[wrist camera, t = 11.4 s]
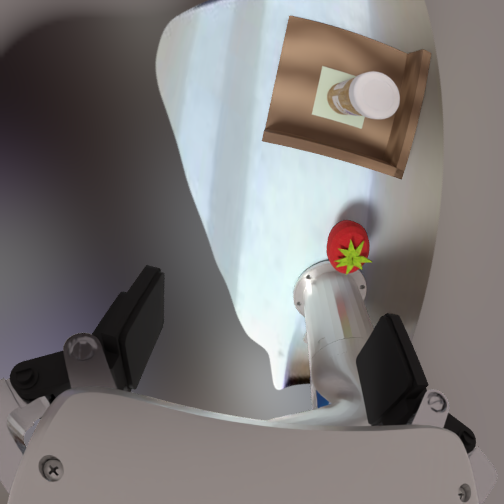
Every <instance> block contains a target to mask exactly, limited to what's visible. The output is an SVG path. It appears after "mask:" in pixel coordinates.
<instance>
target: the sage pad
mask: <svg viewBox="0 0 504 504" xmlns="http://www.w3.org/2000/svg"><path fill="white" fill-rule="evenodd" d="M355 77H356V76H354V75H351V74H347V73H344V72H341V71H338V70H334V69H331V68H327V67H324V66H322V70H321V75H320V79H319V84H318V88H317V93H316V97H315V102H314V106H313V111H312V115H316V116H320V117H324V118H327V119H331V120H334V121H338V122H341V123H344V124H348V125H351V126H354V127H357V128H360V129H362V126H363V122H364V118H365V117H364V116H355V115H341V114H338V113H336V112H335V111H334V110H332V108H331V107H330V106H329V104H328V101H327V93H328V91H329V89H330V88H331V87H332V86H333V85H335V84H337V83H341V82H343V81H346V80H349V79H351V78H355Z"/></svg>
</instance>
